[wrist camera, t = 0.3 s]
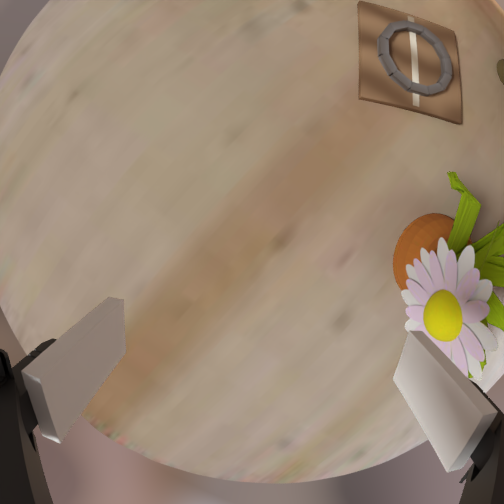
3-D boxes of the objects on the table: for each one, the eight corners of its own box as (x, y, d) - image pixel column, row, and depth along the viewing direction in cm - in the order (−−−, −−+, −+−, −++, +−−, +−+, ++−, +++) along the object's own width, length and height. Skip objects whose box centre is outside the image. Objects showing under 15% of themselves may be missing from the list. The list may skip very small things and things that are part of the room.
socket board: (357, 4, 33) (361, -4, 30) (450, 33, 33) (458, 28, 30) (358, 99, 36) (364, 94, 34) (457, 124, 36) (466, 122, 34)
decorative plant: (358, 175, 38) (481, 170, 14) (493, 171, 37) (619, 179, 13) (363, 360, 44) (427, 486, 19) (486, 330, 43) (575, 404, 18)
